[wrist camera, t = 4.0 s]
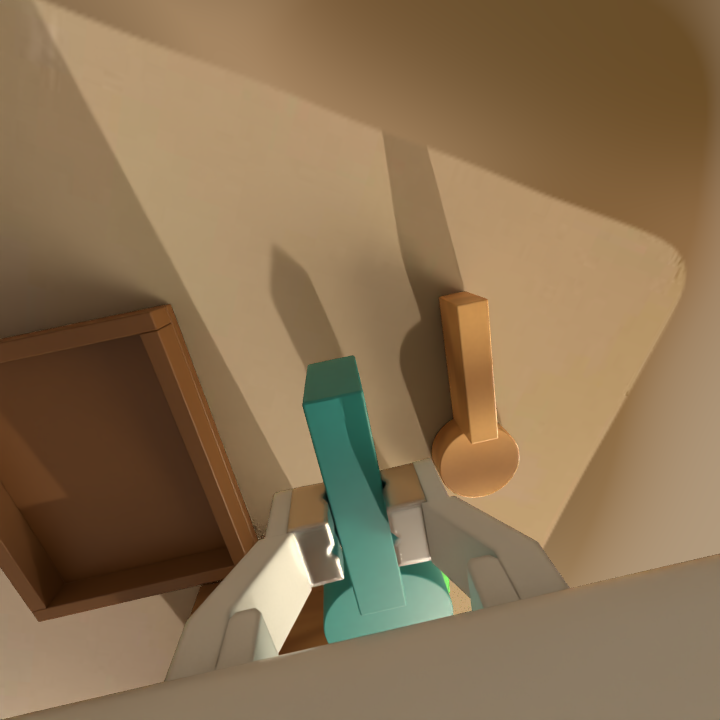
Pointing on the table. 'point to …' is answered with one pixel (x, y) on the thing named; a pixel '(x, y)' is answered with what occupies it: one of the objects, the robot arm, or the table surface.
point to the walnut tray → (111, 467)
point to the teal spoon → (362, 516)
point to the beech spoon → (471, 404)
